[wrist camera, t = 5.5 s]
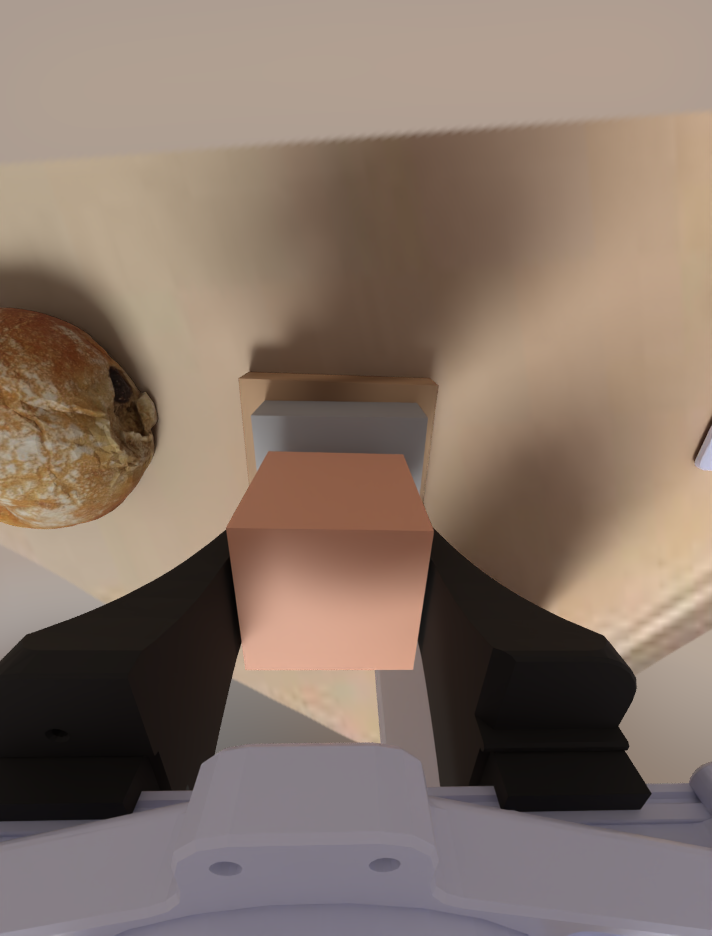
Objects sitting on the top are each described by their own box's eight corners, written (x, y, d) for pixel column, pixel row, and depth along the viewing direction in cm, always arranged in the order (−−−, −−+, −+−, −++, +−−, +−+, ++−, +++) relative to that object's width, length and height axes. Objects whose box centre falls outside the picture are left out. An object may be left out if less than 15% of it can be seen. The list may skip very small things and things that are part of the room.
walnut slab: (427, 375, 18) (438, 385, 16) (409, 522, 22) (416, 547, 20) (252, 369, 18) (238, 378, 16) (264, 519, 22) (254, 544, 19)
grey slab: (416, 402, 16) (427, 417, 14) (405, 529, 19) (412, 559, 17) (264, 400, 16) (250, 415, 14) (276, 528, 19) (266, 558, 17)
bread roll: (195, 452, 23) (198, 483, 16) (28, 541, 20) (-59, 627, 13) (91, 297, 19) (32, 246, 12) (-134, 381, 16) (-381, 381, 9)
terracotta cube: (392, 561, 15) (412, 669, 11) (276, 560, 15) (245, 670, 10) (403, 454, 13) (433, 531, 9) (268, 451, 13) (226, 528, 8)
